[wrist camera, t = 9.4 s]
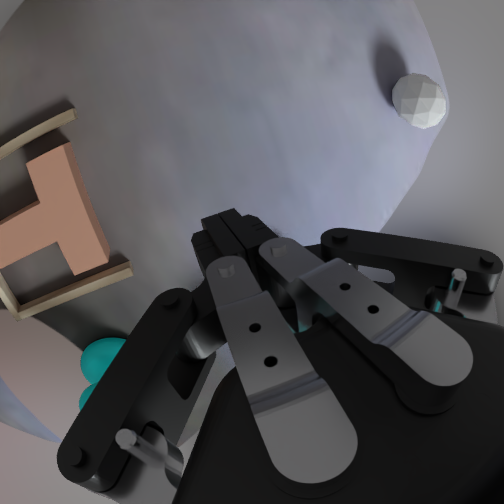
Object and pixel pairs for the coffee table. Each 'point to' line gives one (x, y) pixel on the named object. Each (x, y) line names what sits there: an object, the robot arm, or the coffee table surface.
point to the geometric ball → (418, 100)
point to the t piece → (56, 216)
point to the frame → (72, 290)
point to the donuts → (97, 362)
